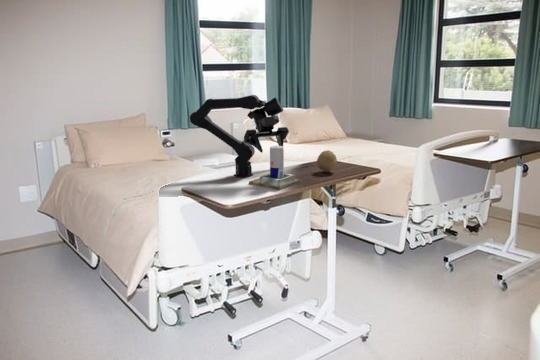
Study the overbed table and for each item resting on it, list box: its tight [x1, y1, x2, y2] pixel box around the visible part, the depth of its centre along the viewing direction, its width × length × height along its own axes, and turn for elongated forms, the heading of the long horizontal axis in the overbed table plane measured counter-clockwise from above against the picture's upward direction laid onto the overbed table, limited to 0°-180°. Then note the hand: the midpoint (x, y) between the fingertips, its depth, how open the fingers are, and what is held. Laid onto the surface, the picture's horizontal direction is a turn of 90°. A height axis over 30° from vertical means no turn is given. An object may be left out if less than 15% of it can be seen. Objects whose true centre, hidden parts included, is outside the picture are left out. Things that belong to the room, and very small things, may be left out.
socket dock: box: [248, 172, 300, 190], centre depth 202 cm, size 16×14×4 cm
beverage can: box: [269, 145, 285, 179], centre depth 198 cm, size 6×6×15 cm
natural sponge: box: [315, 149, 338, 173], centre depth 219 cm, size 9×9×10 cm
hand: (272, 150), depth 200 cm, fingers open, 9 cm apart
